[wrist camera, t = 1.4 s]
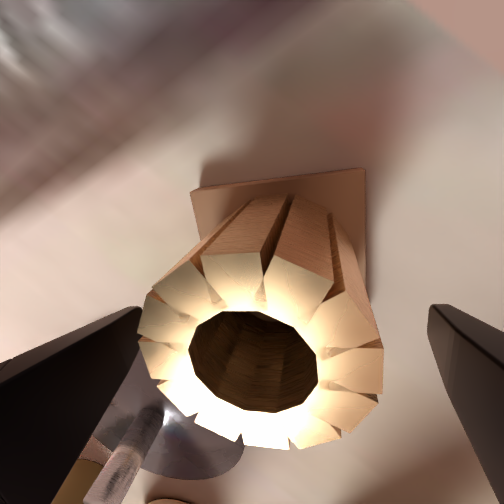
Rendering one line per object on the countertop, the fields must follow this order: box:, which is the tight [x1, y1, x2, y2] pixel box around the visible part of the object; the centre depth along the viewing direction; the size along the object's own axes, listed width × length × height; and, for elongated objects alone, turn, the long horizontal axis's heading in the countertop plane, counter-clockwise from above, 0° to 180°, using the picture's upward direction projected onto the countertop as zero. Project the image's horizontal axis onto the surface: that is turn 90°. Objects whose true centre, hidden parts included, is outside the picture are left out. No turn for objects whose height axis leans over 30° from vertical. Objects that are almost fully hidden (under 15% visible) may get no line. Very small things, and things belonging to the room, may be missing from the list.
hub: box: [83, 349, 245, 504], centre depth 17 cm, size 13×13×6 cm
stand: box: [190, 168, 366, 322], centre depth 11 cm, size 7×7×4 cm
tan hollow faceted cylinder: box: [137, 193, 384, 450], centre depth 10 cm, size 6×6×6 cm
